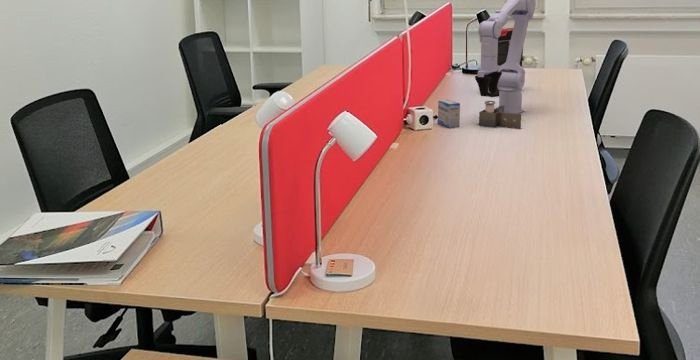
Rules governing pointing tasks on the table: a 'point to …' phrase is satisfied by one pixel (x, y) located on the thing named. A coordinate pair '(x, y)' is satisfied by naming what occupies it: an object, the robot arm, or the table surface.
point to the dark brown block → (489, 122)
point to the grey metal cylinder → (489, 106)
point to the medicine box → (448, 113)
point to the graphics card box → (503, 52)
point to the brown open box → (502, 118)
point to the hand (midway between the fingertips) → (488, 94)
